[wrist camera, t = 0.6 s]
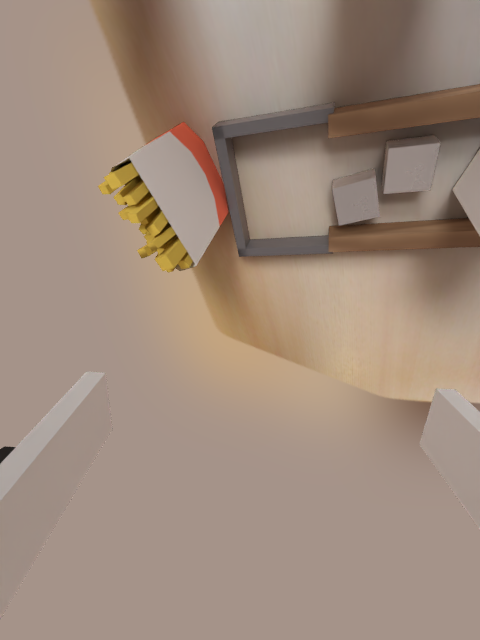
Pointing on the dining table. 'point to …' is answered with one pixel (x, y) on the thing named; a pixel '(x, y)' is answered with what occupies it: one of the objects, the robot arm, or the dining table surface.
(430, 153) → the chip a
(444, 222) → the channel
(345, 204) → the chip
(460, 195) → the milk carton
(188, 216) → the french fries container
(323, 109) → the grey u-shaped frame
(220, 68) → the dining table surface
